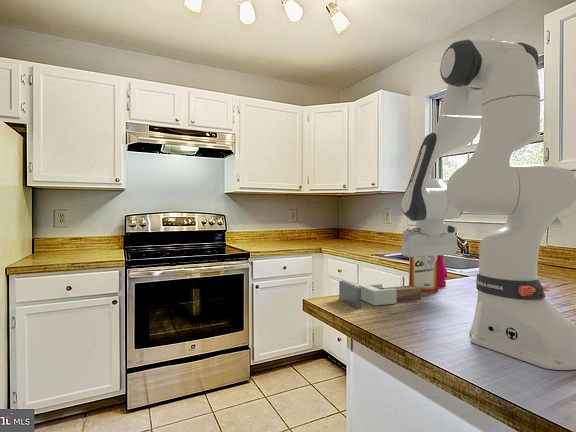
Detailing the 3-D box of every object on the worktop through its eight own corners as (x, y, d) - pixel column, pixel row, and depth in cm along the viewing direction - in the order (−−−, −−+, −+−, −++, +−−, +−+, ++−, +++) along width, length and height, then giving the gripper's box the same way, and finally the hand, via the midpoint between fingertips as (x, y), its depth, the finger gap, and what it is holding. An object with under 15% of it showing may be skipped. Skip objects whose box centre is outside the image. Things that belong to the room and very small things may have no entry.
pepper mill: (430, 282, 138) (431, 232, 138) (449, 284, 134) (450, 233, 134) (424, 285, 133) (425, 233, 133) (444, 288, 128) (445, 234, 128)
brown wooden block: (420, 300, 112) (420, 287, 112) (389, 303, 107) (390, 290, 107) (412, 297, 115) (412, 285, 115) (382, 300, 111) (382, 287, 111)
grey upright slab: (361, 308, 101) (361, 288, 100) (356, 308, 100) (356, 288, 100) (343, 299, 111) (343, 280, 111) (339, 299, 110) (339, 280, 110)
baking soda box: (435, 288, 128) (436, 245, 128) (438, 292, 122) (438, 247, 122) (408, 286, 131) (409, 244, 131) (409, 290, 125) (410, 245, 124)
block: (396, 303, 106) (396, 289, 106) (373, 305, 103) (374, 291, 103) (380, 296, 114) (380, 283, 114) (358, 298, 112) (358, 285, 111)
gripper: (409, 229, 109) (408, 272, 109) (460, 227, 115) (459, 268, 116) (397, 227, 115) (396, 268, 115) (446, 226, 121) (445, 265, 122)
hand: (428, 268), depth 115 cm, fingers closed
